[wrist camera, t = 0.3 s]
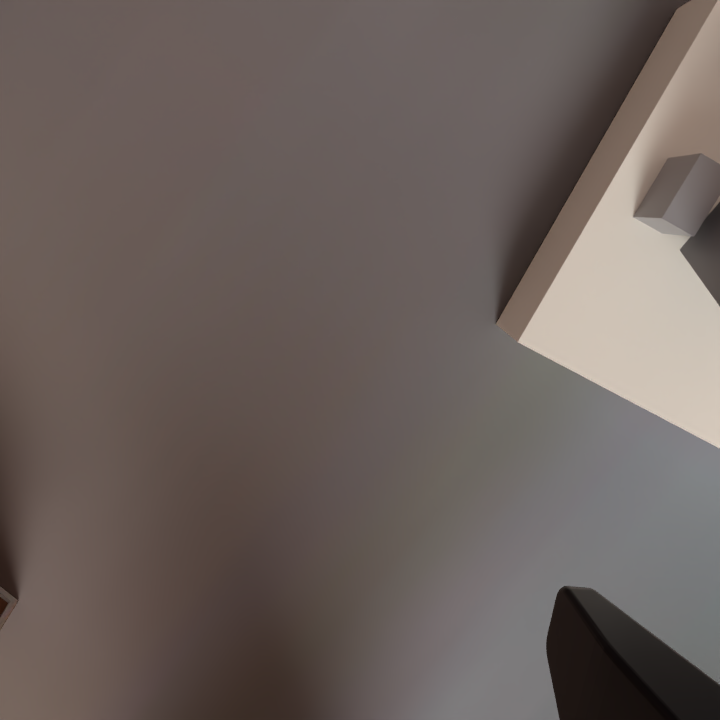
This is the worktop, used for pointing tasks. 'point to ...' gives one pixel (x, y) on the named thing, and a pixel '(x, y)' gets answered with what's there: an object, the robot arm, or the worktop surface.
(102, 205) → the worktop surface
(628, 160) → the switch panel
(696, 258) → the grey rectangular carton
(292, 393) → the worktop surface
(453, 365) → the worktop surface
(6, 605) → the food container
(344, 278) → the worktop surface
